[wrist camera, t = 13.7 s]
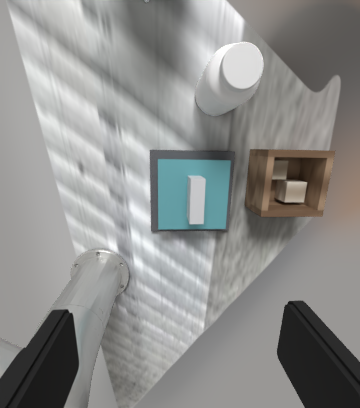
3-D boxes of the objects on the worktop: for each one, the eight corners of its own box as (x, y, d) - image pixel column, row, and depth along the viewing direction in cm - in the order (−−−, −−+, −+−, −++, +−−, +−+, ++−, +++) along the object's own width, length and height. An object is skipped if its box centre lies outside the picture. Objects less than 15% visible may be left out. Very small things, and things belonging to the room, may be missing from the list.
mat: (227, 229, 48) (228, 230, 47) (151, 229, 46) (151, 231, 46) (233, 151, 43) (234, 151, 43) (150, 149, 42) (150, 150, 41)
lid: (221, 223, 46) (233, 238, 39) (158, 224, 45) (157, 239, 38) (226, 159, 43) (239, 162, 35) (158, 158, 42) (156, 161, 34)
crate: (296, 205, 48) (322, 216, 40) (244, 205, 47) (260, 216, 39) (305, 150, 44) (335, 150, 37) (250, 149, 44) (268, 149, 36)
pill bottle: (210, 125, 42) (235, 113, 27) (185, 90, 40) (198, 57, 25) (243, 99, 41) (286, 72, 27) (219, 61, 39) (252, 10, 25)
